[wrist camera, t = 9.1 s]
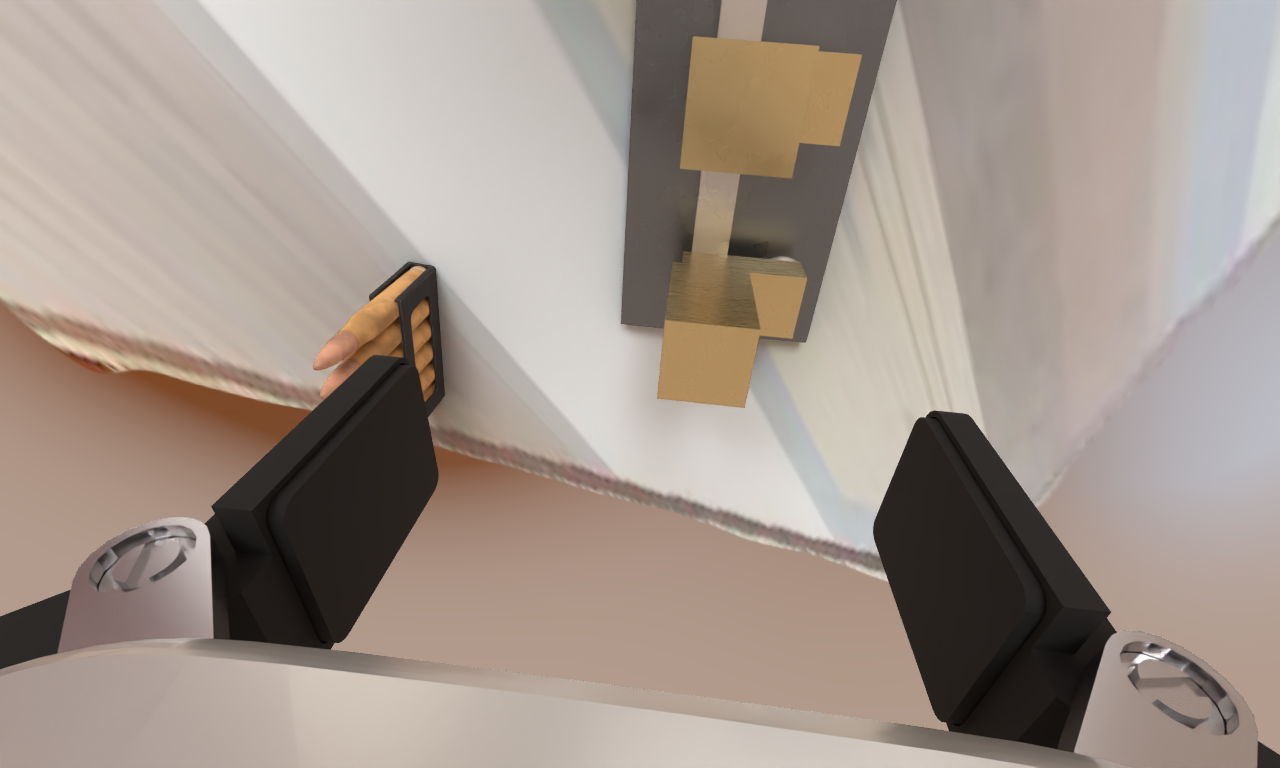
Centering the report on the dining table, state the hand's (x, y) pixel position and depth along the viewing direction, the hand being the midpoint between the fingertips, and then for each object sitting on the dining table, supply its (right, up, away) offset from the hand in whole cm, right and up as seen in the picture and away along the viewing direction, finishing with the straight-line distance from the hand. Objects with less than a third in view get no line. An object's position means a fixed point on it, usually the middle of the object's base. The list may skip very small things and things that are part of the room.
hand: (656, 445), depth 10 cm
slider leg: (+6, +16, +16) cm, 23 cm away
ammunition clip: (-15, +5, +28) cm, 33 cm away
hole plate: (+5, +14, +20) cm, 25 cm away
